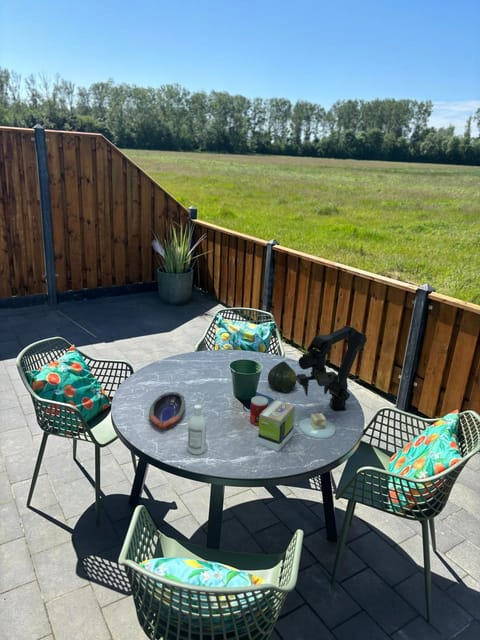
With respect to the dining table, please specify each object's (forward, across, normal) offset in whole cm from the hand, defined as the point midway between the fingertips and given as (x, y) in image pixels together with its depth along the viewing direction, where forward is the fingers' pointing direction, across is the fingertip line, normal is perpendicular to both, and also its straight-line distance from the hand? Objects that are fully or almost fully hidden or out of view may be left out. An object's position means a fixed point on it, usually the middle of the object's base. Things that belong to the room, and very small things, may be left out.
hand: (315, 394), depth 210 cm
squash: (+12, -6, +30) cm, 33 cm away
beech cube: (+10, -2, -10) cm, 14 cm away
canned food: (+12, -27, 0) cm, 29 cm away
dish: (+11, -67, +12) cm, 69 cm away
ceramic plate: (+12, -2, -10) cm, 15 cm away
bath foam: (+11, -58, -17) cm, 61 cm away
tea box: (+12, -24, -15) cm, 30 cm away
